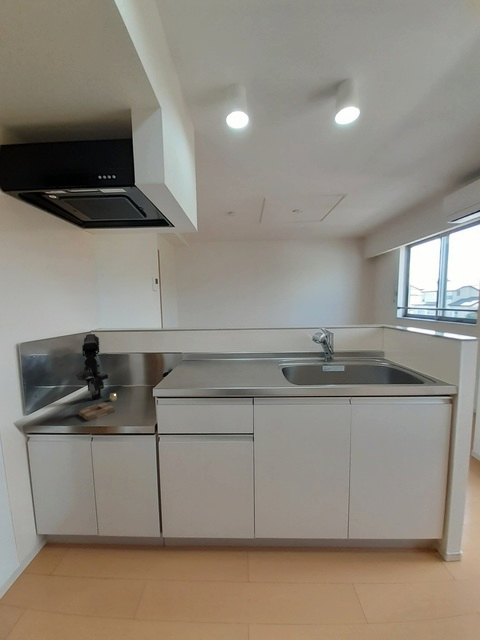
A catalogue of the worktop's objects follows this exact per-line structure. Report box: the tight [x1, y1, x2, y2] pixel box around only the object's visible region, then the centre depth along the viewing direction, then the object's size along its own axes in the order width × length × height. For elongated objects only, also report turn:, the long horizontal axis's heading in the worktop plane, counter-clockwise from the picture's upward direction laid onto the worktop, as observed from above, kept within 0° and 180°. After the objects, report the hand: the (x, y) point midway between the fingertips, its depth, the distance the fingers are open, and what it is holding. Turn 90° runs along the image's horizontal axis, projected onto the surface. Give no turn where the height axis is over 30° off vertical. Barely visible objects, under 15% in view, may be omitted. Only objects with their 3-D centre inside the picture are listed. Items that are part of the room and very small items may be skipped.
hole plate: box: [77, 401, 115, 422], centre depth 150 cm, size 14×14×2 cm
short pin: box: [109, 392, 118, 402], centre depth 168 cm, size 4×4×4 cm
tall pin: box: [89, 380, 98, 396], centre depth 150 cm, size 4×4×8 cm
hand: (93, 390), depth 151 cm, fingers closed on tall pin, 4 cm apart
